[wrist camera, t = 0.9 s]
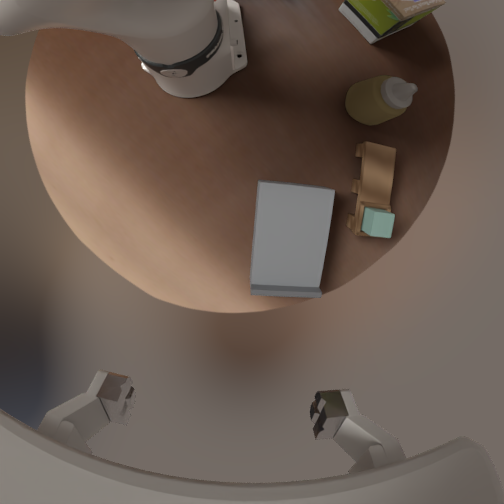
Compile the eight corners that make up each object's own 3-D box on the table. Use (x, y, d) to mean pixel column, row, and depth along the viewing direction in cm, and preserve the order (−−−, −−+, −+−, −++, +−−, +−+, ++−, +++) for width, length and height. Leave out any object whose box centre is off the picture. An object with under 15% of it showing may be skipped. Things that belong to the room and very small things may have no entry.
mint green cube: (364, 206, 43) (374, 211, 39) (383, 209, 43) (395, 214, 39) (360, 229, 44) (370, 235, 40) (379, 231, 44) (390, 238, 40)
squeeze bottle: (384, 120, 42) (445, 110, 25) (350, 133, 42) (404, 124, 26) (366, 81, 39) (420, 55, 22) (331, 93, 40) (376, 63, 23)
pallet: (356, 142, 43) (368, 141, 38) (384, 148, 43) (398, 148, 39) (345, 227, 48) (356, 235, 43) (373, 230, 49) (385, 238, 44)
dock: (258, 179, 45) (260, 183, 38) (325, 186, 46) (339, 191, 39) (249, 277, 51) (250, 294, 44) (311, 280, 52) (320, 297, 45)
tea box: (381, -7, 31) (412, -36, 17) (410, 26, 33) (448, 4, 19) (335, 9, 33) (362, -27, 20) (369, 46, 36) (407, 18, 22)
